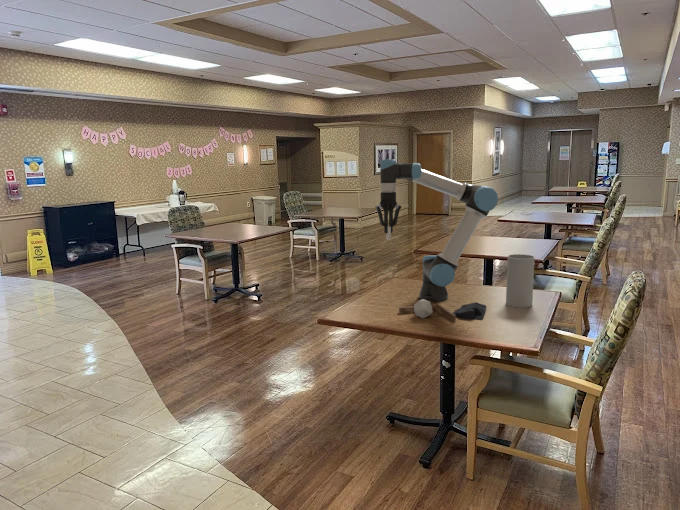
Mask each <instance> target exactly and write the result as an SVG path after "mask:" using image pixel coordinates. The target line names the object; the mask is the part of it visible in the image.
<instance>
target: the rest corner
mask: <svg viewBox="0 0 680 510" xmlns="http://www.w3.org/2000/svg"><path fill="white" fill-rule="evenodd" d="M431 305H432V312H433V311H436V312H438V313H440V314H441V315H443V316H444V317H446V318H447V319H449V320H450V321H452V322H457V321H456V320H457V317H456V315H455V314H453V312H452V311H450V310H448V309H446V308H444V307H443V306H441V305H440V304H438V303H433V304H431ZM409 313H415V312H414V305H413V306H412V305H411V306H400V307H398V314H402V315H403V314H409Z"/></svg>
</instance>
